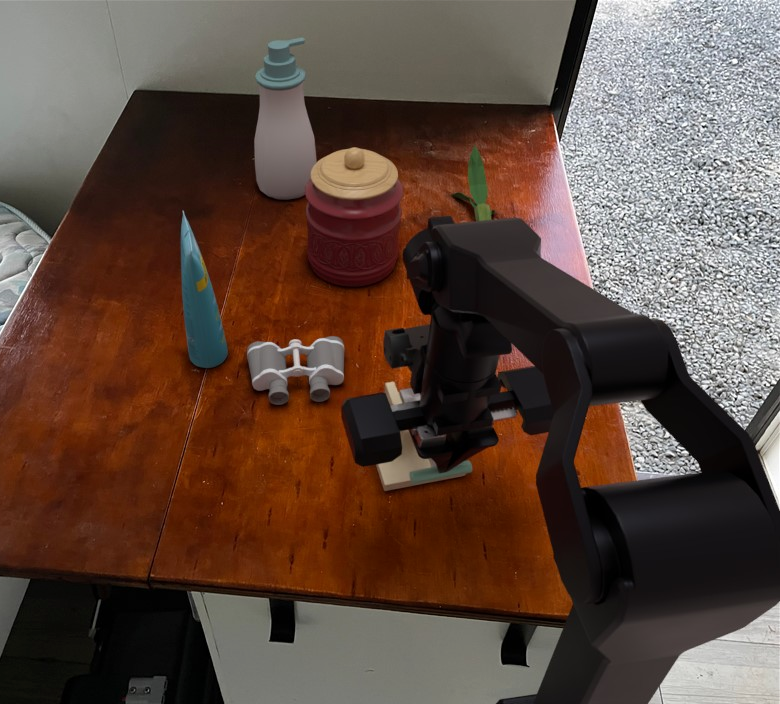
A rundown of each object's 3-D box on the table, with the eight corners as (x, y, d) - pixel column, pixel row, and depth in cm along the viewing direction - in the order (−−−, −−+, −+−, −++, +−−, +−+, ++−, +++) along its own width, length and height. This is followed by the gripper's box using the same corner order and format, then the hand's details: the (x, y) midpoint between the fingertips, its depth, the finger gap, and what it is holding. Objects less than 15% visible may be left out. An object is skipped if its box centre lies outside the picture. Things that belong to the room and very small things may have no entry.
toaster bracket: (465, 475, 76) (475, 431, 70) (384, 491, 75) (388, 447, 69) (430, 392, 84) (436, 346, 78) (356, 406, 83) (357, 360, 77)
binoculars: (343, 351, 89) (343, 331, 87) (350, 400, 84) (351, 380, 81) (248, 358, 89) (245, 338, 86) (249, 407, 83) (246, 388, 81)
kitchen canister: (292, 275, 100) (285, 164, 87) (328, 224, 108) (327, 116, 95) (379, 299, 96) (385, 186, 83) (410, 244, 104) (420, 134, 91)
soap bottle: (327, 191, 114) (325, 49, 98) (271, 208, 111) (260, 65, 95) (301, 163, 120) (295, 25, 104) (247, 178, 117) (233, 39, 101)
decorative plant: (468, 310, 90) (449, 148, 106) (468, 345, 97) (450, 188, 113) (517, 306, 89) (490, 143, 105) (514, 341, 96) (489, 183, 112)
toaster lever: (471, 478, 69) (474, 463, 68) (412, 490, 69) (413, 475, 67) (434, 398, 77) (436, 383, 76) (381, 408, 76) (382, 392, 75)
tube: (234, 369, 87) (215, 244, 74) (196, 380, 86) (169, 255, 73) (220, 330, 92) (199, 206, 79) (183, 339, 91) (156, 215, 78)
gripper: (529, 276, 64) (500, 390, 75) (326, 308, 61) (328, 421, 73) (588, 364, 56) (546, 477, 67) (358, 405, 54) (354, 514, 65)
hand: (441, 468), depth 68 cm, fingers closed
